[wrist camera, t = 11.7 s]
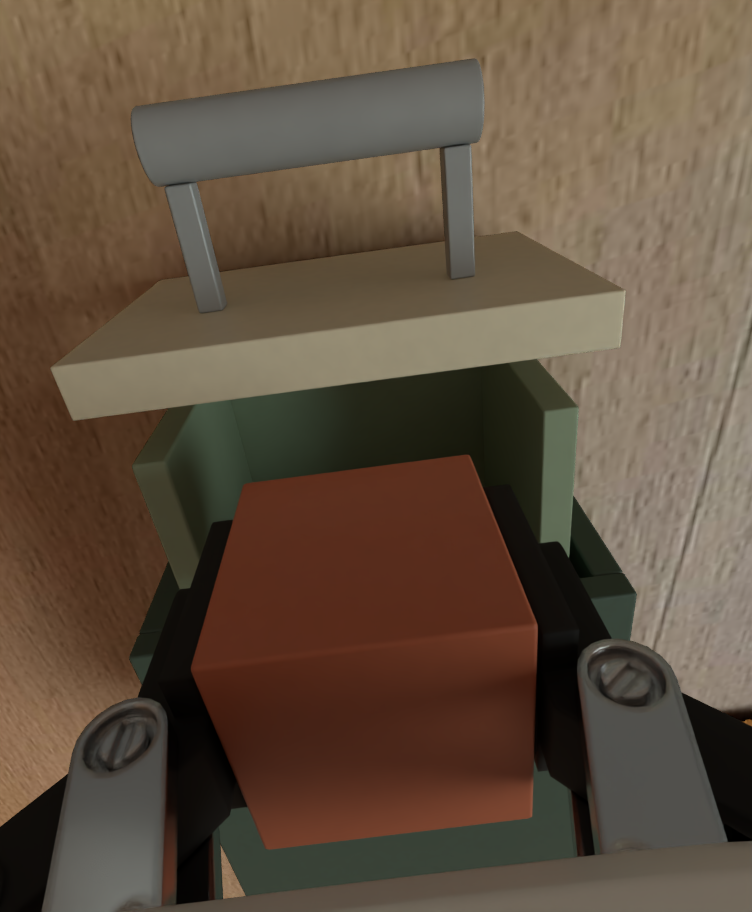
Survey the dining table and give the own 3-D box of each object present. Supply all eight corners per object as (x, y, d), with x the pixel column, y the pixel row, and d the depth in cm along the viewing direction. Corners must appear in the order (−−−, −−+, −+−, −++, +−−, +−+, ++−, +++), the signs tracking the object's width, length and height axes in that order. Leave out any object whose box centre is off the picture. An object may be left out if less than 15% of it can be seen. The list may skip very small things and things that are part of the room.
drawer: (112, 125, 16) (-61, 116, 9) (518, 68, 16) (654, 15, 9) (250, 577, 24) (214, 750, 17) (516, 543, 24) (585, 704, 17)
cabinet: (207, 462, 22) (127, 658, 14) (526, 420, 22) (637, 593, 14) (278, 688, 29) (253, 912, 21) (523, 658, 29) (596, 871, 20)
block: (242, 481, 11) (187, 670, 7) (469, 452, 11) (539, 626, 7) (287, 642, 13) (264, 852, 9) (477, 618, 13) (533, 819, 9)
